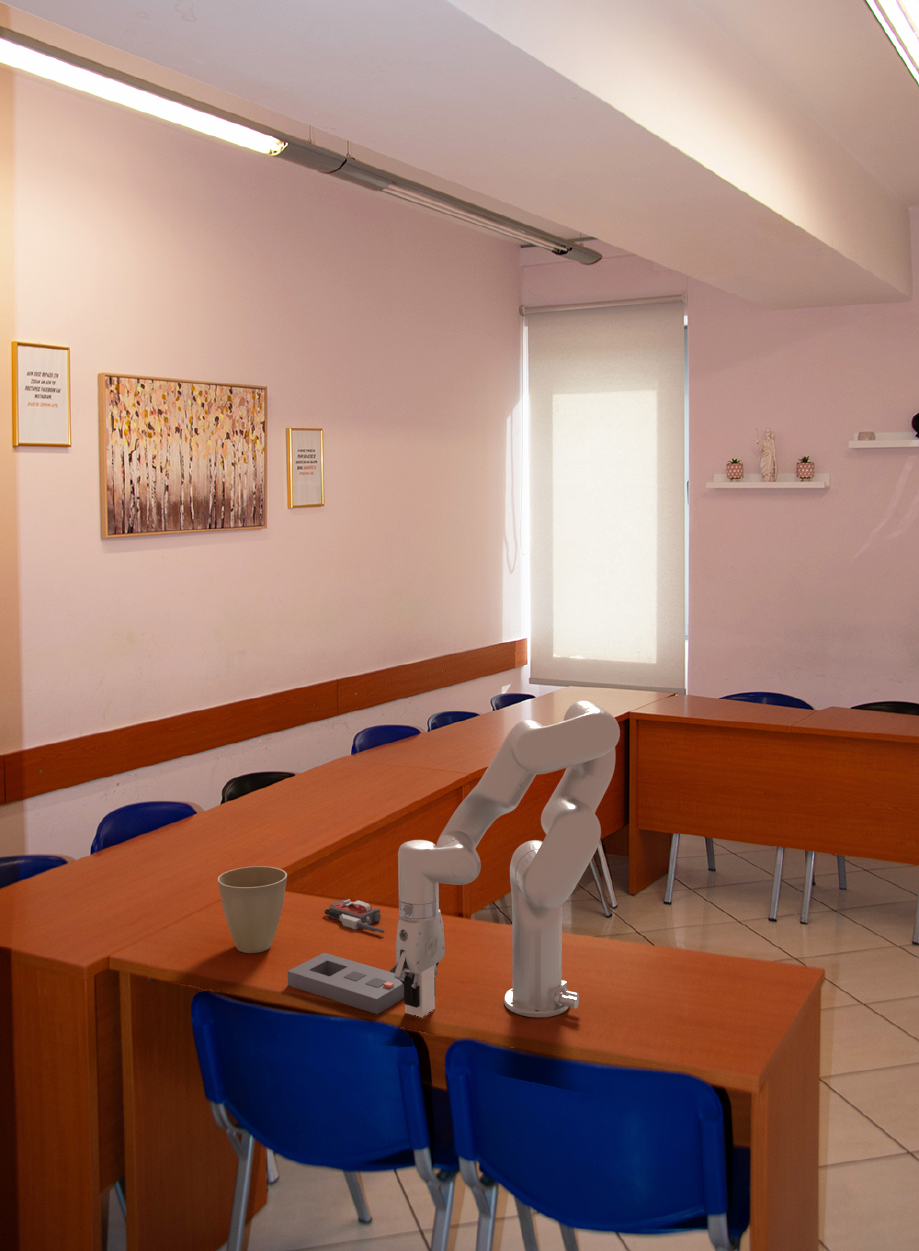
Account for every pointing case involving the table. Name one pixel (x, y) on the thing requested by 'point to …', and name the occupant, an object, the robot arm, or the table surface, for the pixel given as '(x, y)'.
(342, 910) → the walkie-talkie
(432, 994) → the block
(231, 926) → the plant pot
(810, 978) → the table surface
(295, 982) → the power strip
